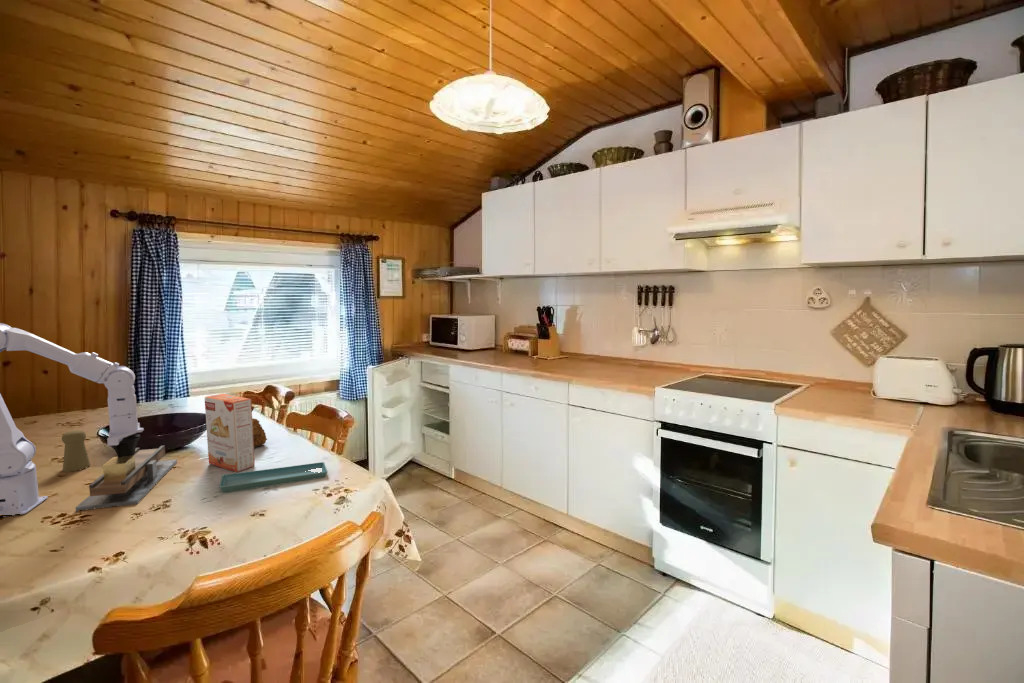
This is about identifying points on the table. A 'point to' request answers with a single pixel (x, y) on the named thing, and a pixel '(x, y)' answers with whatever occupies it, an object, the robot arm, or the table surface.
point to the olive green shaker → (75, 451)
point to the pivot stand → (135, 492)
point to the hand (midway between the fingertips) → (127, 464)
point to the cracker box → (229, 432)
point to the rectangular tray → (270, 477)
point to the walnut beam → (125, 484)
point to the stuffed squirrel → (258, 433)
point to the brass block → (119, 467)
